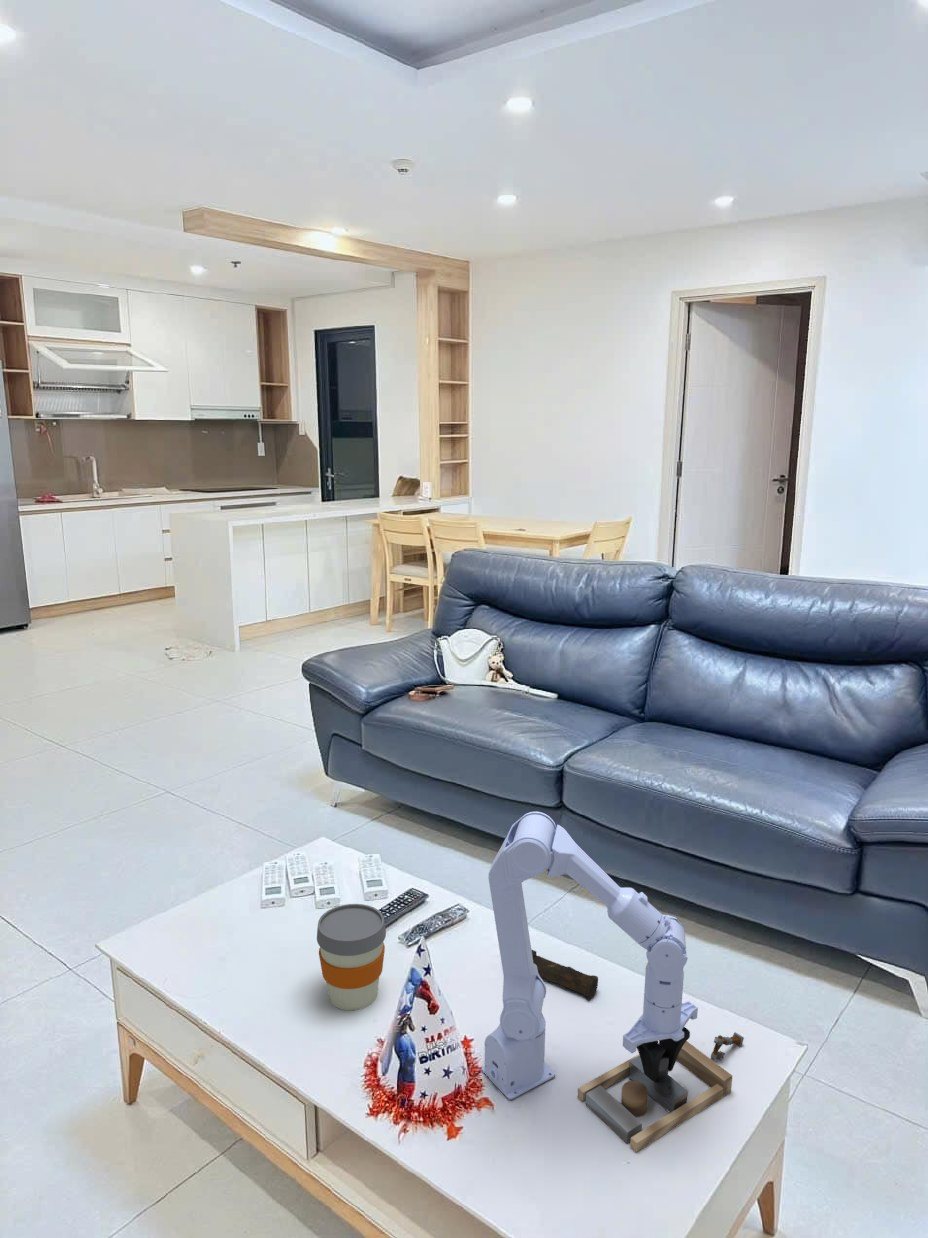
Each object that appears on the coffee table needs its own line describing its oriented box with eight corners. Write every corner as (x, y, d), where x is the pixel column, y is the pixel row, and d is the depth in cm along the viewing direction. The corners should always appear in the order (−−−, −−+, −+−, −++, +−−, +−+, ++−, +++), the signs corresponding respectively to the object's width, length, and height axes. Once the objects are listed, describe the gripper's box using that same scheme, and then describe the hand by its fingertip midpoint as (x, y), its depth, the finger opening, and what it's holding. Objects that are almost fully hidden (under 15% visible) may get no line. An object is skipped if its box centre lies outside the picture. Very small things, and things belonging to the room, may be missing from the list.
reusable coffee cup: (399, 983, 163) (398, 912, 160) (364, 1024, 152) (362, 948, 149) (342, 966, 168) (340, 896, 165) (305, 1004, 157) (302, 931, 154)
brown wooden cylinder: (634, 1120, 131) (634, 1104, 131) (615, 1104, 135) (616, 1087, 134) (652, 1109, 133) (653, 1093, 133) (634, 1093, 137) (635, 1077, 136)
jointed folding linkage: (703, 1059, 143) (712, 1033, 143) (727, 1056, 148) (735, 1030, 148) (713, 1065, 141) (721, 1038, 142) (736, 1062, 147) (744, 1036, 147)
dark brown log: (599, 992, 161) (600, 970, 160) (589, 1003, 158) (590, 981, 157) (514, 956, 172) (514, 935, 171) (503, 966, 169) (503, 945, 168)
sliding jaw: (673, 1115, 132) (675, 1077, 130) (628, 1076, 140) (630, 1040, 138) (686, 1106, 134) (689, 1069, 132) (641, 1069, 141) (643, 1033, 140)
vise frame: (636, 1152, 126) (637, 1134, 125) (577, 1096, 136) (578, 1080, 135) (731, 1091, 137) (732, 1075, 136) (670, 1044, 147) (671, 1029, 147)
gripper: (648, 1028, 126) (643, 1107, 129) (715, 993, 134) (709, 1068, 137) (614, 1002, 131) (610, 1078, 134) (680, 969, 139) (675, 1042, 142)
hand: (658, 1071), depth 136 cm, fingers closed on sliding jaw, 3 cm apart
